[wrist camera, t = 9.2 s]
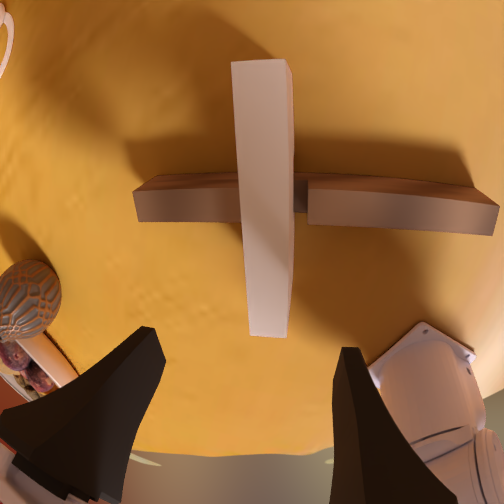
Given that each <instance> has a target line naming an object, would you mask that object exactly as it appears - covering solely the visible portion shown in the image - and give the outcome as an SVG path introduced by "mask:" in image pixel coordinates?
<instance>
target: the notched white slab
mask: <svg viewBox="0 0 504 504" xmlns="http://www.w3.org/2000/svg"><path fill="white" fill-rule="evenodd" d="M231 72H232V89H233V105H234V120H235V136H236V151H237V165H238V180H239V194H240V209H241V223H242V236H243V250H244V263H245V276H246V290H247V302H248V315H249V328H250V336H263V337H277V338H287V330H288V321H289V312H290V302H291V292H292V281H293V270H294V219H295V212H293V209H294V179H293V157H294V112H293V84H292V72H291V70H290V68H289V66H288V64H287V62H286V60H285V59H265V60H248V61H236V62H231Z"/></svg>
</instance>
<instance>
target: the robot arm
mask: <svg viewBox="0 0 504 504" xmlns="http://www.w3.org/2000/svg"><path fill="white" fill-rule="evenodd" d="M424 330H425V331H424ZM475 359H476V354H475V353H474V352H473V351H471V350H469V349H468V348H466V347H465V346H463V345H461V344H460V343H458V342H456V341H455V340H453V339H452V338H450V337H448V336H447V335H445V334H443V333H442V332H440V331H438V330H437V329H435V328H433V327H432V326H430V325H428V324H427V323H425V322H420V323H418V324H417V325H416V326H415V327H414V328H413V329H411V330H410V331H409V332H408V333H407V334H406V335H405V336H404V337H403V338H402V339H401V340H399V341H398V342H397V343H396V344H395V345H394V346H393V347H392V348H390V349H389V350H388V351H387V352H386V353H385V354H383V355H382V356H381V357H380V358H379V359H377V360H376V361H375V362H374V363H373V364H371V365H370V366H369V367H368V368H367V366H366V363H365V361H364V358H363V356H362V353H361V350H360V349H359V348H358V347H342V348H341V352H340V356H339V360H338V364H337V368H336V371H335V375H334V378H333V393H332V413H333V433H334V468H333V479H332V487H331V495H330V502H329V504H504V452H503V449H502V446H501V443H500V440H499V438H498V436H497V434H496V433H495V432H494V431H491V430H488V429H487V428H484V425H485V421H486V411H485V407H484V403H483V400H482V397H481V394H480V391H479V388H478V385H477V382H476V379H475V376H474V374H473V371H472V368H471V366H470V363H472V362H473V361H474V360H475ZM165 363H166V359H165V356H164V354H163V351H162V348H161V345H160V342H159V340H158V337H157V334H156V331H155V328H150V327H145V326H141V327H140V328H139V329H137V330H136V331H135V332H134V333H133V334H131V335H130V336H129V337H128V338H127V339H126V340H124V341H123V342H122V343H121V344H120V345H119V346H117V347H116V348H115V349H114V350H113V351H111V352H110V353H109V354H108V355H106V356H105V357H104V358H103V359H102V360H100V361H99V362H98V363H96V364H95V365H94V366H92V367H91V368H90V369H88V370H87V371H86V372H84V373H83V374H81V375H80V376H79V377H77V378H76V379H74V380H72V381H71V382H69V383H67V384H66V385H64V386H62V387H61V388H59V389H57V390H55V391H53V392H51V393H49V394H47V395H45V396H43V397H40V398H38V399H36V400H33V401H31V402H28V403H25V404H22V405H19V406H16V407H13V408H9V409H5V410H3V412H2V414H1V415H0V438H1V439H3V440H4V441H5V442H6V443H7V444H8V445H9V446H11V447H12V448H13V449H14V450H16V451H17V453H16V455H15V454H13V453H12V452H11V451H10V450H9V449H7V448H6V447H5V446H4V445H3V444H1V443H0V500H1V502H2V503H3V504H88V501H89V499H91V500H93V501H96V502H97V501H98V499H99V498H100V499H103V500H105V501H107V502H109V503H111V504H119V503H121V498H122V490H123V483H124V478H125V473H126V469H127V464H128V460H129V456H130V453H131V449H132V446H133V442H134V439H135V436H136V433H137V430H138V428H139V425H140V423H141V421H142V419H143V416H144V414H145V412H146V410H147V408H148V406H149V404H150V402H151V399H152V397H153V395H154V393H155V391H156V389H157V387H158V384H159V382H160V379H161V376H162V373H163V370H164V367H165ZM376 387H377V388H380V390H381V396H380V394H379V392H378V390H377V388H376Z"/></svg>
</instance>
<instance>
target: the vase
mask: <svg viewBox="0 0 504 504" xmlns="http://www.w3.org/2000/svg"><path fill="white" fill-rule="evenodd" d="M61 297H62V295H61V286H60V282H59V280H58V278H57V276H56V274H55V273H54V271H53V270H52V269H51V268H50V267H49V266H48V265H47V264H45V263H43V262H41V261H37V260H32V259H27V260H23V261H20V262H17V263H15V264H13V265H12V266H11V267H9V268H8V269H7V270H6V271H5V272H4V273H3V274H2V275H1V276H0V342H1V343H5V342H7V341H10V340H17V339H28V338H32V337H35V336H37V335H38V334H40V333H42V332H43V331H44V330H46V329H47V328H48V327H49V325H50V324H51V323H52V322H53V320H54V319H55V317H56V315H57V313H58V311H59V308H60V305H61Z"/></svg>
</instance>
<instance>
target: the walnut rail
mask: <svg viewBox="0 0 504 504" xmlns="http://www.w3.org/2000/svg"><path fill="white" fill-rule="evenodd" d="M293 179H294V209H293V212H299V213H307V225H331V226H354V227H373V228H391V229H408V230H423V231H437V232H451V233H463V234H475V235H487V236H492V235H493V232H494V228H495V224H496V220H497V216H498V212H499V208H500V206H499V205H498V204H496V203H495V202H494V201H492V200H491V199H490V198H488V197H487V196H486V195H484V194H483V193H482V192H480V191H479V190H477V189H476V188H471V187H465V186H458V185H451V184H444V183H436V182H428V181H420V180H410V179H401V178H390V177H378V176H365V175H349V174H330V173H303V172H293ZM133 197H134V202H135V207H136V212H137V217H138V221H139V222H230V223H241V209H240V194H239V180H238V172H223V173H196V174H177V175H161V176H156V177H154V178H152V179H151V180H149V181H148V182H146V183H145V184H143V185H142V186H140V187H139V188H137V189H136V190H134V191H133Z"/></svg>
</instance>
